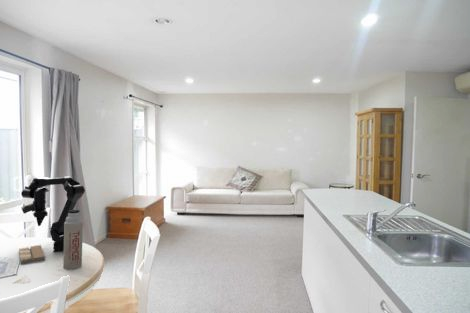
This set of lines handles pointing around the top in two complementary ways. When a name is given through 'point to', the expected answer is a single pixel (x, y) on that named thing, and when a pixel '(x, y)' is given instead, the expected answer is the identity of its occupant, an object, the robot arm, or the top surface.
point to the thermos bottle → (73, 241)
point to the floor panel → (35, 254)
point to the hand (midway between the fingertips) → (39, 225)
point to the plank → (25, 254)
